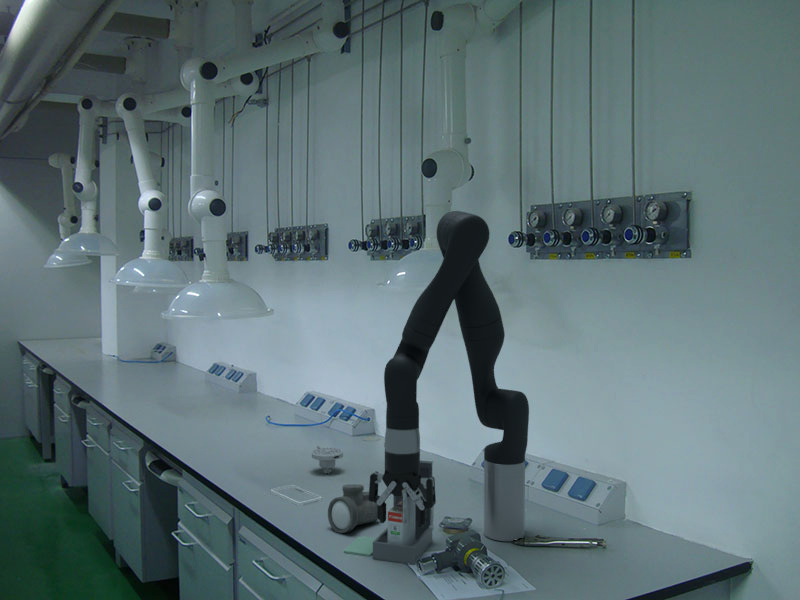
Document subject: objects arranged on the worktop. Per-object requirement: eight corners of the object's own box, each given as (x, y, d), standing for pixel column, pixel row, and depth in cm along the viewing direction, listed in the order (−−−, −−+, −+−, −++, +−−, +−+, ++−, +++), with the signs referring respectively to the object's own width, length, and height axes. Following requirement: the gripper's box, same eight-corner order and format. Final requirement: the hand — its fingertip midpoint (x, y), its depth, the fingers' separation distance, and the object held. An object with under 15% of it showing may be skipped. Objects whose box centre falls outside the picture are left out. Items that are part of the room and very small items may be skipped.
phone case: (269, 494, 186) (299, 508, 175) (269, 489, 186) (299, 502, 175) (292, 489, 191) (323, 502, 180) (292, 484, 191) (322, 496, 180)
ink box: (386, 557, 142) (386, 488, 142) (400, 544, 150) (400, 478, 149) (402, 560, 141) (402, 490, 141) (416, 546, 148) (416, 480, 148)
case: (393, 535, 154) (393, 457, 154) (435, 541, 151) (435, 460, 151) (372, 558, 142) (372, 473, 141) (417, 565, 138) (417, 477, 138)
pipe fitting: (349, 536, 153) (350, 489, 154) (325, 530, 158) (326, 485, 159) (386, 528, 162) (386, 484, 163) (362, 523, 167) (363, 480, 168)
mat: (359, 537, 153) (359, 535, 153) (384, 540, 151) (384, 539, 151) (343, 552, 145) (343, 550, 145) (370, 556, 143) (370, 554, 143)
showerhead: (330, 443, 213) (349, 449, 205) (330, 466, 213) (349, 472, 205) (304, 448, 206) (323, 454, 199) (304, 471, 207) (323, 478, 199)
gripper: (439, 446, 146) (438, 522, 146) (376, 441, 150) (376, 514, 150) (430, 455, 138) (429, 533, 139) (364, 449, 143) (364, 526, 143)
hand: (401, 523), depth 144 cm, fingers open, 8 cm apart
